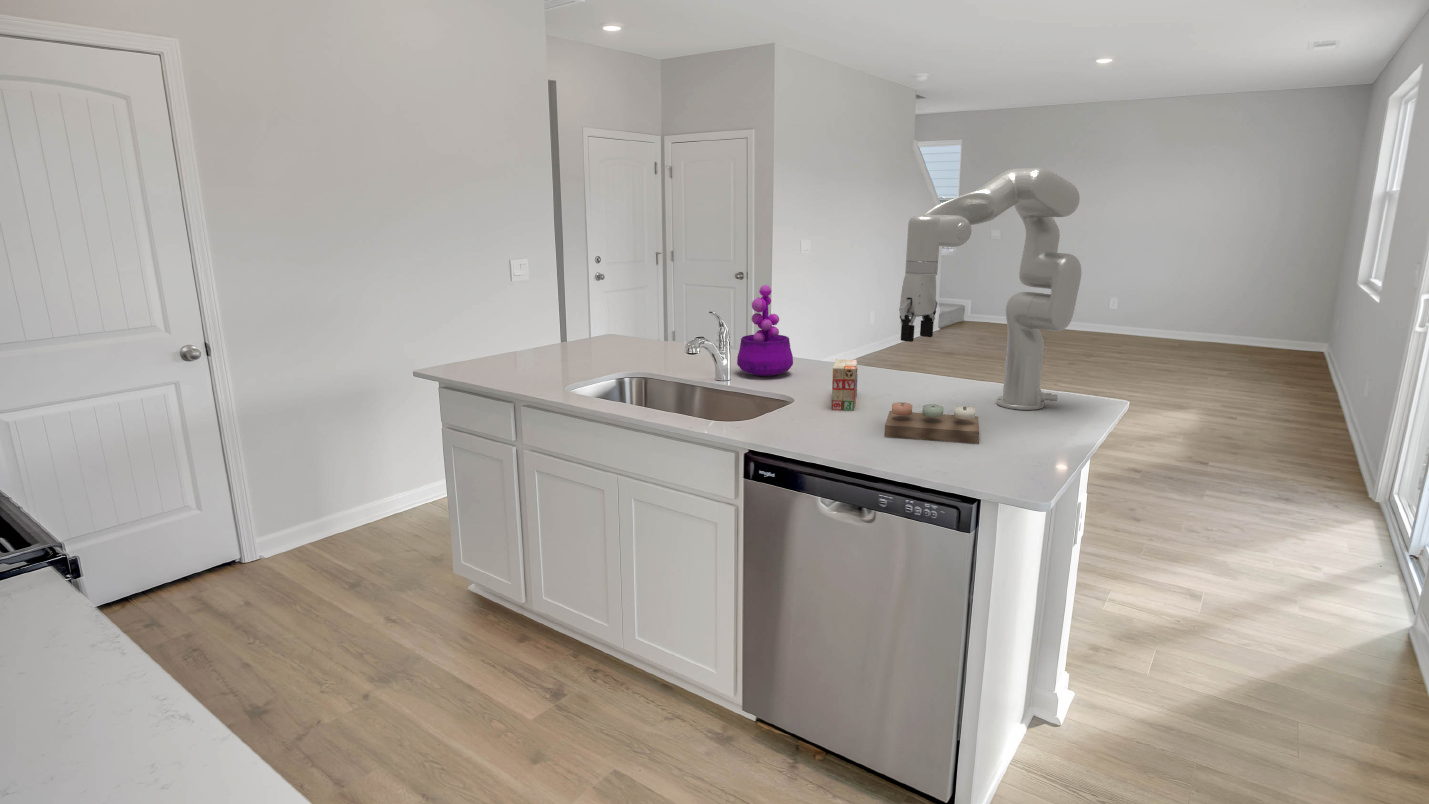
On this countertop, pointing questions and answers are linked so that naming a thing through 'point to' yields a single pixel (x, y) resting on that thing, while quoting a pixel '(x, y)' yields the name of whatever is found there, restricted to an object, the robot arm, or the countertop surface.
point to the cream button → (964, 412)
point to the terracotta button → (901, 408)
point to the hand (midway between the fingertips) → (916, 338)
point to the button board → (932, 428)
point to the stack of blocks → (844, 385)
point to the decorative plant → (765, 342)
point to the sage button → (932, 410)
